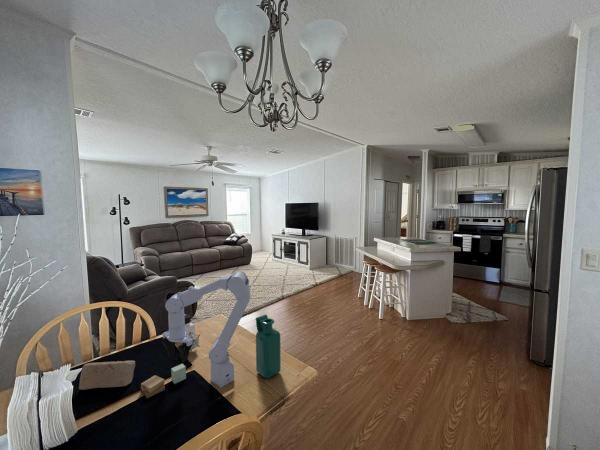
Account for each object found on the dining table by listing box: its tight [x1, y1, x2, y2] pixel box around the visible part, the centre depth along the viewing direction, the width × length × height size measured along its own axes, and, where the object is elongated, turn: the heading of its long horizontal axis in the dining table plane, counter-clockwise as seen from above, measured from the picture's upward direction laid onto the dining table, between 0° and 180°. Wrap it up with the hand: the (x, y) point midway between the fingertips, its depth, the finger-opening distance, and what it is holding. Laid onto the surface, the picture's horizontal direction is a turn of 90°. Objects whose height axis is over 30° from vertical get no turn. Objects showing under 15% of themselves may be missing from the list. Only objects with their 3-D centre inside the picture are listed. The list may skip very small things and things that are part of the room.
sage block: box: [170, 363, 187, 385], centre depth 103 cm, size 3×4×5 cm
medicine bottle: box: [184, 314, 196, 335], centre depth 135 cm, size 7×7×12 cm
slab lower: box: [141, 384, 166, 399], centre depth 97 cm, size 6×6×2 cm
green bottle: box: [255, 314, 282, 379], centre depth 108 cm, size 10×8×22 cm
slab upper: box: [140, 374, 165, 394], centre depth 97 cm, size 6×6×2 cm
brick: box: [78, 360, 136, 391], centre depth 99 cm, size 16×8×5 cm
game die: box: [181, 332, 201, 352], centre depth 122 cm, size 9×8×10 cm
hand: (177, 358), depth 102 cm, fingers open, 7 cm apart
